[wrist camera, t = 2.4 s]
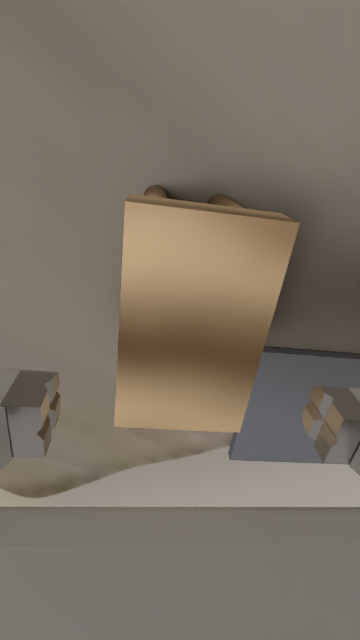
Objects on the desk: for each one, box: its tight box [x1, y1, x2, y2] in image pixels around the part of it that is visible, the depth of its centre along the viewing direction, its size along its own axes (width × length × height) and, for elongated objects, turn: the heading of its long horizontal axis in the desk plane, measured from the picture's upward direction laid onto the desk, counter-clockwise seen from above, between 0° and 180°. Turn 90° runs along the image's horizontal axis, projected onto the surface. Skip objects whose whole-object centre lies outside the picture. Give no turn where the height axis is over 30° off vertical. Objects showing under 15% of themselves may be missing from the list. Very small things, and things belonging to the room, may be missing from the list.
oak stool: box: [114, 185, 300, 433], centre depth 18 cm, size 10×6×10 cm, turn 173°
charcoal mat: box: [228, 347, 360, 464], centre depth 29 cm, size 18×12×1 cm, turn 83°
